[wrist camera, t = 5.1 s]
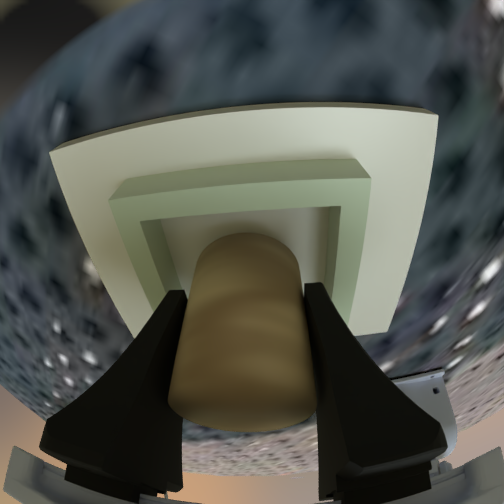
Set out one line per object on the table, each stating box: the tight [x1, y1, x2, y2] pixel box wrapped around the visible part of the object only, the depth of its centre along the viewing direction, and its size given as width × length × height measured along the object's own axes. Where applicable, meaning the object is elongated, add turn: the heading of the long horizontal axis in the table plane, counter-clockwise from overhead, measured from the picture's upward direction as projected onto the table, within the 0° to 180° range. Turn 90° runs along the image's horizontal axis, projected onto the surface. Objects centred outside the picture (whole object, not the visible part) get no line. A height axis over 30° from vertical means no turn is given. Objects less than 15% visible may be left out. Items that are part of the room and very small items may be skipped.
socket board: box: [49, 102, 438, 338], centre depth 13 cm, size 16×13×3 cm
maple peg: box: [168, 232, 317, 432], centre depth 10 cm, size 4×4×6 cm
